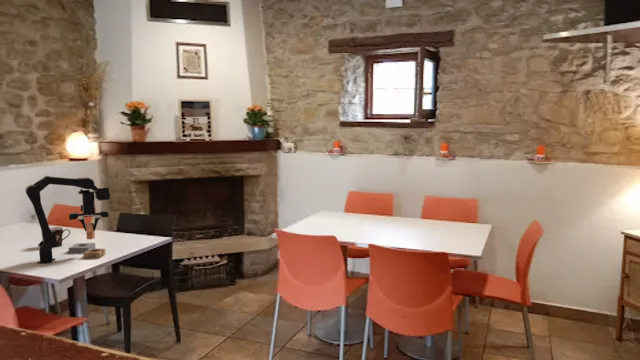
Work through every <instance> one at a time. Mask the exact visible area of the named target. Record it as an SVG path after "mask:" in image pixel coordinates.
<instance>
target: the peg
mask: <svg viewBox="0 0 640 360" xmlns="http://www.w3.org/2000/svg"><path fill="white" fill-rule="evenodd" d="M94 223H95V222H88V223H85V224H86V231H85V232H86V240H94V239H95V238H96V233H95V231H96V230H95V231H94Z"/></svg>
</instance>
